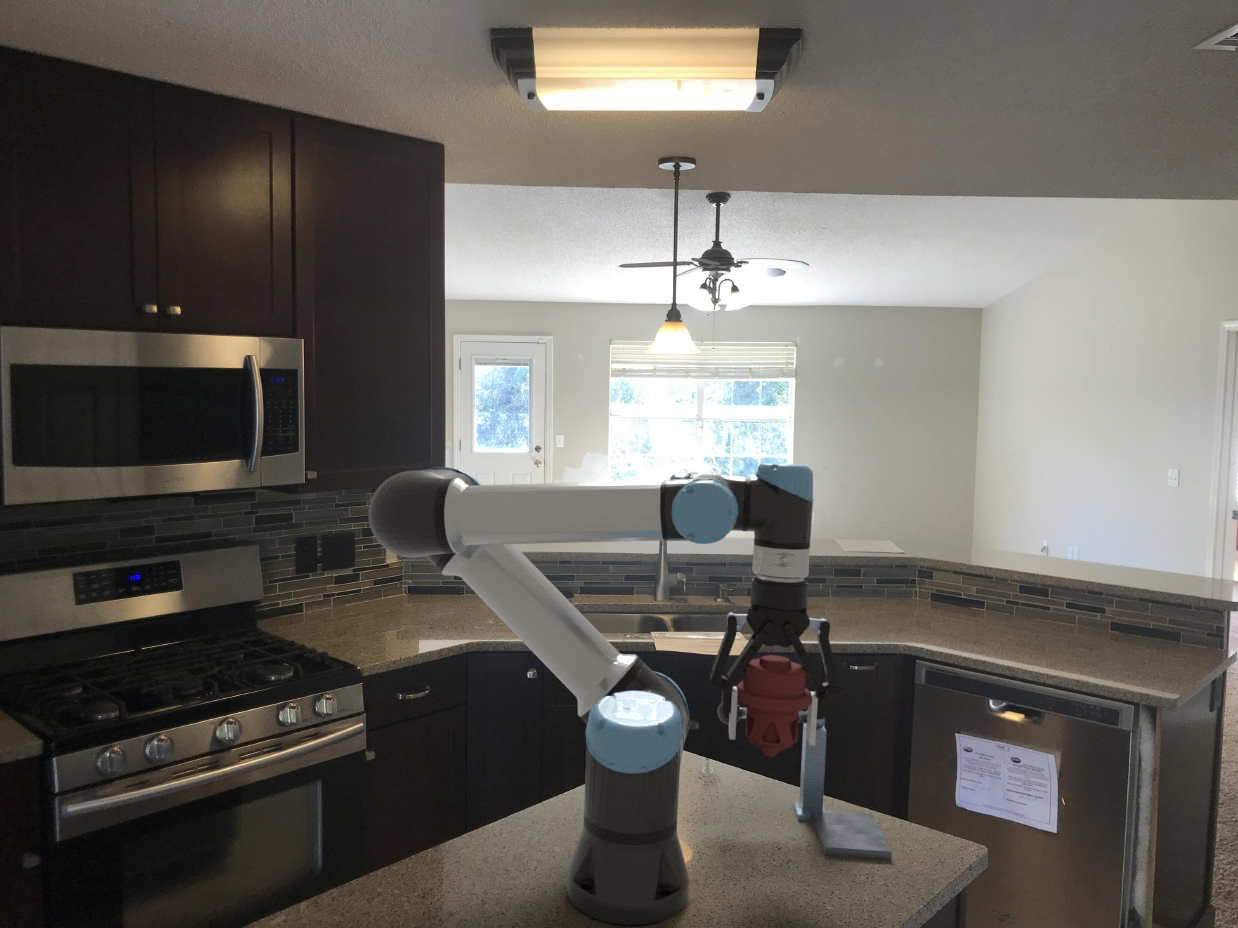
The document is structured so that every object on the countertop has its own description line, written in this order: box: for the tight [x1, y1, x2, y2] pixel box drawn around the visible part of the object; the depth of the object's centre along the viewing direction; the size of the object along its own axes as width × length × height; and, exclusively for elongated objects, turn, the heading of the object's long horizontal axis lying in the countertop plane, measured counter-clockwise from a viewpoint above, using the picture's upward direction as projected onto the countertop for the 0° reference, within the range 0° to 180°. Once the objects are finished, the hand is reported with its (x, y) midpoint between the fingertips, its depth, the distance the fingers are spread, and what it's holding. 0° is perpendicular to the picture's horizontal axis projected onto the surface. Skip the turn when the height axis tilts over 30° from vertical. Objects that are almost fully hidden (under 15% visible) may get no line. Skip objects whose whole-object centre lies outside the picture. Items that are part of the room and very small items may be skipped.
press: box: [793, 722, 893, 861], centre depth 123 cm, size 11×15×14 cm
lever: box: [717, 702, 826, 729], centre depth 128 cm, size 16×4×4 cm, turn 86°
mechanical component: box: [736, 654, 811, 758], centre depth 115 cm, size 12×10×10 cm
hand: (771, 738), depth 115 cm, fingers closed on mechanical component, 10 cm apart
